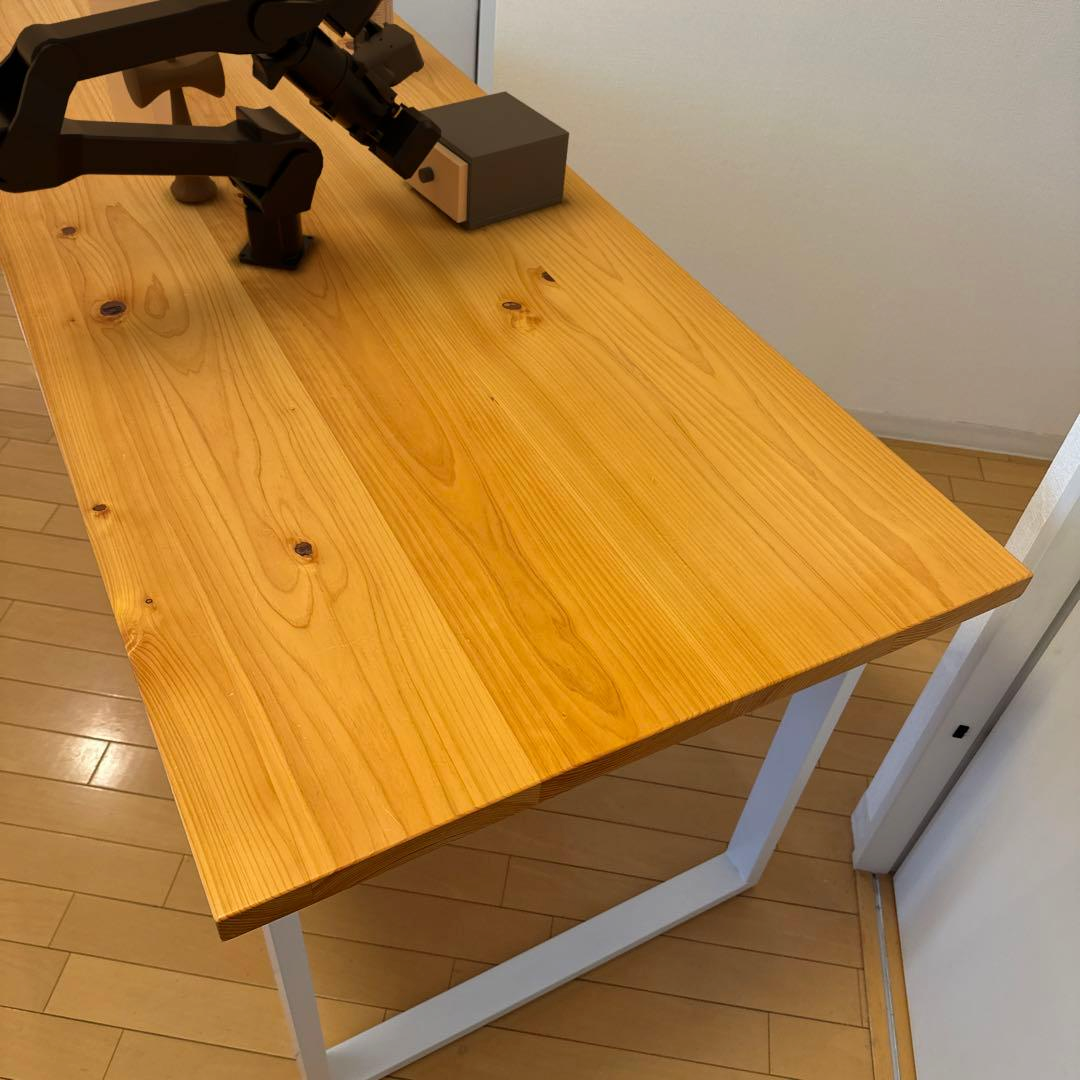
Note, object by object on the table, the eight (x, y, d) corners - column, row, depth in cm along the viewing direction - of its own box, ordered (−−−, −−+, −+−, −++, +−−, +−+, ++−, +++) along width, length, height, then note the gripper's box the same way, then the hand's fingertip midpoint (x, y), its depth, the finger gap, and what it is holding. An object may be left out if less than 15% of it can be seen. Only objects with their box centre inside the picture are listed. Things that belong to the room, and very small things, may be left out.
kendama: (245, 197, 116) (219, 13, 102) (162, 215, 112) (123, 25, 98) (225, 175, 119) (197, -7, 105) (144, 191, 115) (103, 4, 101)
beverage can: (397, 60, 147) (395, -30, 138) (389, 75, 143) (387, -16, 134) (359, 55, 147) (355, -35, 138) (350, 70, 143) (345, -22, 134)
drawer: (449, 225, 114) (449, 168, 109) (395, 183, 120) (394, 126, 115) (545, 197, 120) (549, 142, 115) (490, 158, 126) (492, 103, 121)
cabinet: (469, 230, 115) (471, 158, 109) (410, 183, 122) (409, 112, 116) (562, 202, 121) (569, 132, 115) (501, 159, 128) (505, 91, 122)
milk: (163, 161, 121) (123, -42, 105) (120, 149, 122) (74, -53, 106) (192, 141, 125) (158, -57, 109) (150, 130, 126) (110, -68, 110)
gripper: (425, 37, 93) (513, 131, 106) (326, -27, 103) (418, 67, 116) (354, 137, 95) (449, 217, 108) (264, 65, 105) (361, 147, 118)
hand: (419, 158), depth 113 cm, fingers closed
